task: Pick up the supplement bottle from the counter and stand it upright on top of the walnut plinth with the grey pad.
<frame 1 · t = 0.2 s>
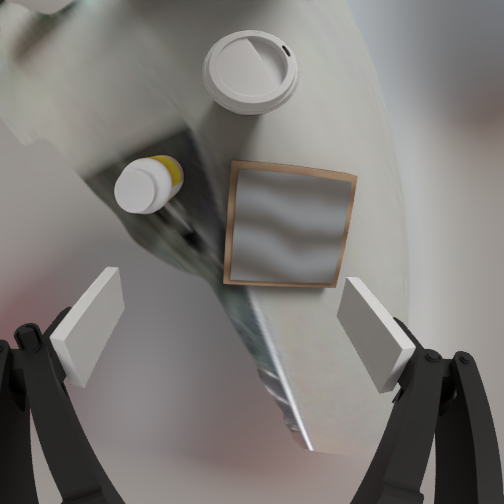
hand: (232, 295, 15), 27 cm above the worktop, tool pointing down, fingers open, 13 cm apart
supplement bottle: (162, 177, 38), on the worktop
plinth: (285, 223, 42), on the worktop
coffee cup: (244, 94, 34), on the worktop
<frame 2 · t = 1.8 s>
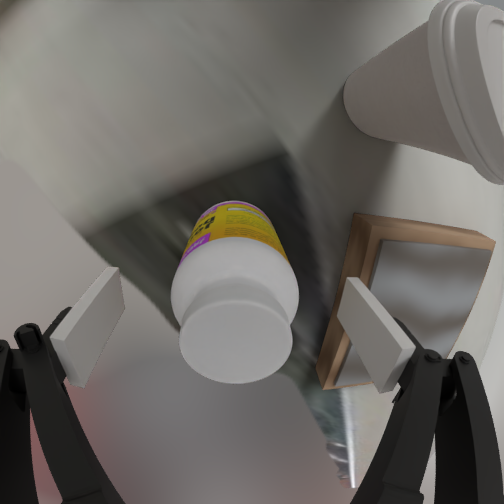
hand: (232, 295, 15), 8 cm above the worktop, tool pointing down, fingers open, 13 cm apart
supplement bottle: (233, 238, 23), on the worktop
plinth: (405, 301, 26), on the worktop
coffee cup: (376, 102, 19), on the worktop
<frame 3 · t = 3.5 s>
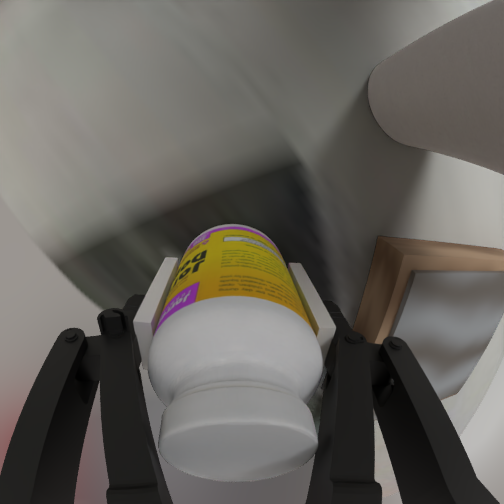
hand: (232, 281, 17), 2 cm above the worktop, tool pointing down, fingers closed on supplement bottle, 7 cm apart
supplement bottle: (231, 269, 18), on the worktop, touching gripper
plinth: (426, 329, 22), on the worktop
coffee cup: (404, 101, 15), on the worktop
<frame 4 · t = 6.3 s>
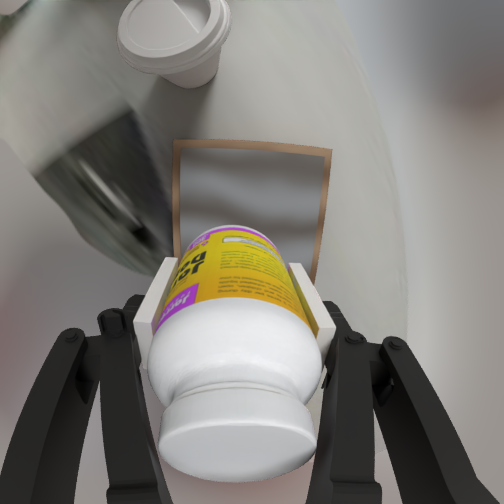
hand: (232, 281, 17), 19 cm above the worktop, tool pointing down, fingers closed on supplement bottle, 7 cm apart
supplement bottle: (231, 269, 18), point 18 cm above the worktop, touching gripper
plinth: (248, 212, 35), on the worktop
coffee cup: (192, 65, 27), on the worktop
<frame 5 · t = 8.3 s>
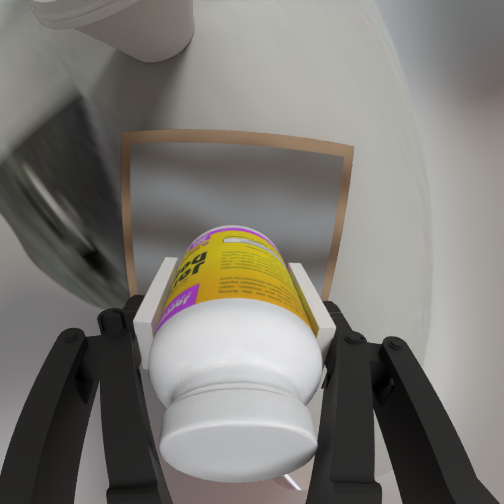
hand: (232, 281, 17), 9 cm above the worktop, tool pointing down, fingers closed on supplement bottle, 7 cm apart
supplement bottle: (231, 270, 18), point 7 cm above the worktop, touching gripper
plinth: (231, 233, 25), on the worktop
coffee cup: (159, 33, 17), on the worktop
when the fingers open (7 cm above the worktop, at t = 9.6 s): supplement bottle drops 1 cm, resting on plinth.
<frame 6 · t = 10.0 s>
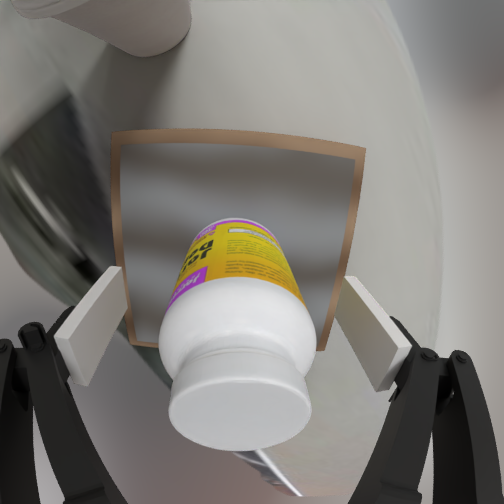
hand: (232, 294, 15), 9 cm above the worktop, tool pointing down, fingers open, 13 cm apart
supplement bottle: (234, 260, 20), point 4 cm above the worktop, touching plinth
plinth: (231, 242, 23), on the worktop
coffee cup: (154, 26, 16), on the worktop
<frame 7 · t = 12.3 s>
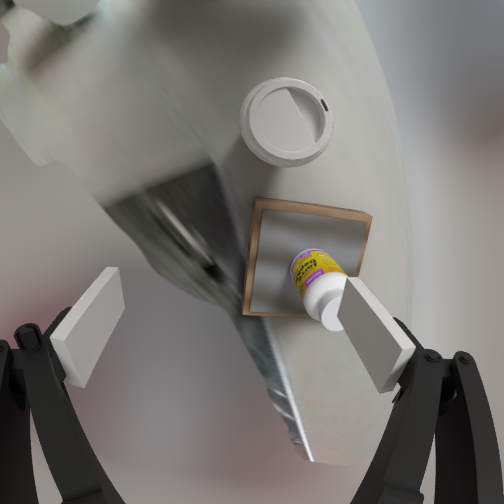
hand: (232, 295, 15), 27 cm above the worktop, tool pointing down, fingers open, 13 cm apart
supplement bottle: (310, 267, 41), point 4 cm above the worktop, touching plinth
plinth: (302, 258, 44), on the worktop
coffee cup: (268, 131, 37), on the worktop
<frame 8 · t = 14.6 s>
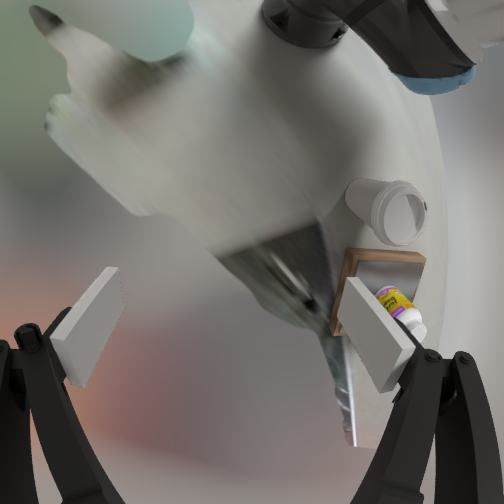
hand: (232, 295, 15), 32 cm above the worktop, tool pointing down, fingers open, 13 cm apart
supplement bottle: (383, 298, 50), point 4 cm above the worktop, touching plinth
plinth: (375, 289, 54), on the worktop
coffee cup: (360, 196, 46), on the worktop
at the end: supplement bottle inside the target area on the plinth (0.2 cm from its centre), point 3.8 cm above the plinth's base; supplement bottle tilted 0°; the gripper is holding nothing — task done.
